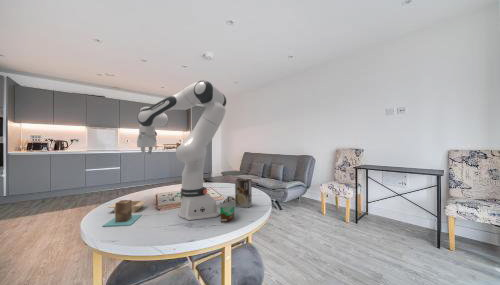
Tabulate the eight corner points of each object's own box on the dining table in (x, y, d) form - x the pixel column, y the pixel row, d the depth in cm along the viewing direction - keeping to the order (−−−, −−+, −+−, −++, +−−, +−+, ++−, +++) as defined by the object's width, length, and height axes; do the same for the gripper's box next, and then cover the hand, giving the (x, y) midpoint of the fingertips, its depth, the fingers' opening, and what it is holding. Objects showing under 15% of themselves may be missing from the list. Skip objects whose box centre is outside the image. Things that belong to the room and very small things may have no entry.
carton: (147, 206, 115) (147, 200, 115) (140, 212, 105) (140, 206, 105) (118, 207, 113) (118, 201, 113) (108, 213, 102) (108, 207, 102)
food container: (231, 224, 90) (232, 203, 89) (219, 223, 91) (219, 202, 91) (238, 215, 102) (238, 196, 102) (227, 214, 103) (227, 195, 103)
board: (141, 215, 100) (141, 214, 100) (130, 225, 88) (130, 224, 88) (117, 216, 99) (117, 215, 99) (102, 226, 87) (102, 225, 87)
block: (131, 217, 96) (131, 199, 96) (126, 221, 91) (126, 203, 91) (120, 218, 96) (121, 200, 95) (115, 222, 91) (115, 203, 91)
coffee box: (252, 204, 119) (252, 179, 119) (249, 207, 113) (249, 181, 113) (238, 203, 122) (238, 178, 122) (234, 206, 115) (234, 180, 115)
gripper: (145, 131, 111) (145, 155, 111) (157, 133, 131) (157, 153, 131) (134, 131, 110) (133, 155, 110) (148, 133, 131) (148, 153, 131)
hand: (146, 154), depth 121 cm, fingers open, 8 cm apart
